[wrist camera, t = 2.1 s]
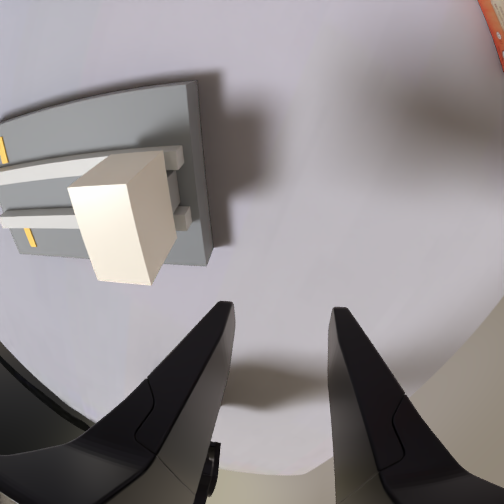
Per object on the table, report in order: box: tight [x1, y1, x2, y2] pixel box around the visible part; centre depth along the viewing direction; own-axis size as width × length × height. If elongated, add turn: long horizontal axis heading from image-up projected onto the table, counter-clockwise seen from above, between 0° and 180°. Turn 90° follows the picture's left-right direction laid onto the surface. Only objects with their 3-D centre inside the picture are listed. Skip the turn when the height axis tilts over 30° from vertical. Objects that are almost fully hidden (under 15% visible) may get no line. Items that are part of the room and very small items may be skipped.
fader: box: [67, 150, 181, 285], centre depth 15 cm, size 5×3×5 cm, turn 2°
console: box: [0, 80, 213, 266], centre depth 18 cm, size 11×17×3 cm, turn 92°
